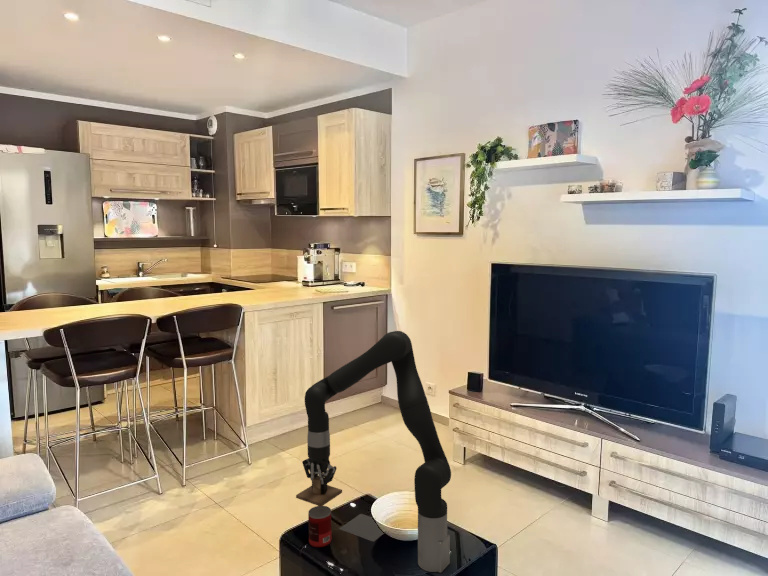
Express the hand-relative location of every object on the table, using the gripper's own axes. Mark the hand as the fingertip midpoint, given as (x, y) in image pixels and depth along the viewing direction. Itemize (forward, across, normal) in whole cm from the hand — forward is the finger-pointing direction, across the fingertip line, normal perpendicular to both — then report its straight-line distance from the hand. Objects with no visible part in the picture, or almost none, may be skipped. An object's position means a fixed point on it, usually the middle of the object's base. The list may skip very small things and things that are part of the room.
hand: (319, 491), depth 181 cm
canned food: (+18, 0, 0) cm, 18 cm away
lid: (+1, 0, 0) cm, 1 cm away
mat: (+18, -8, -16) cm, 25 cm away
